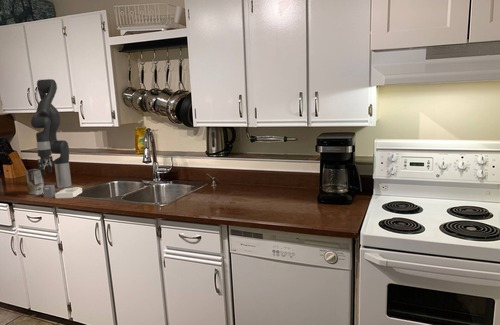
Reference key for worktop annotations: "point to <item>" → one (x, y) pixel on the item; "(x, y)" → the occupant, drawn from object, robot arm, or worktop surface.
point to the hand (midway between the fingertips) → (46, 173)
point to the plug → (49, 190)
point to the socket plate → (68, 192)
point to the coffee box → (35, 181)
